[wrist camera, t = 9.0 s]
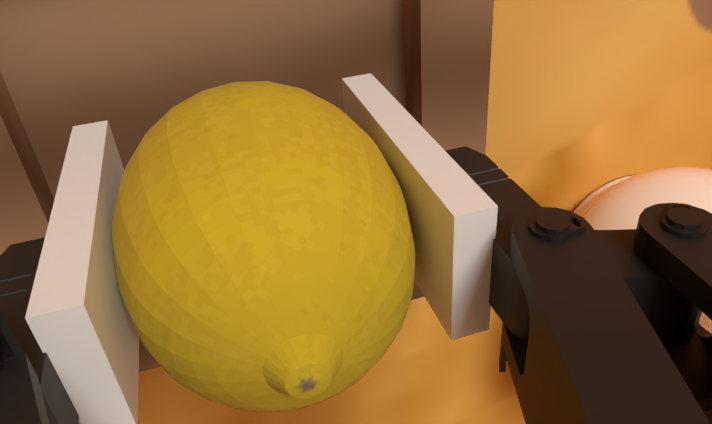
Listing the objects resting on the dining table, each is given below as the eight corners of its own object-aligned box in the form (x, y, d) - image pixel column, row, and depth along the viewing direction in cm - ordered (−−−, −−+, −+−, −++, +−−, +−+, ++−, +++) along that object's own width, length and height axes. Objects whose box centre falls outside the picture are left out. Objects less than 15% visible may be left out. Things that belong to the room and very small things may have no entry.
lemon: (138, 6, 13) (129, 188, 6) (372, 65, 15) (549, 245, 8) (105, 225, 15) (74, 523, 8) (311, 247, 17) (412, 497, 11)
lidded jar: (535, 346, 32) (657, 505, 24) (491, 199, 26) (637, 353, 18) (709, 254, 32) (884, 383, 25) (708, 86, 26) (942, 191, 18)
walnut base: (421, 205, 25) (477, 282, 20) (64, 287, 22) (45, 396, 18) (415, -207, 17) (506, -221, 13) (-140, -164, 14) (-262, -163, 10)
